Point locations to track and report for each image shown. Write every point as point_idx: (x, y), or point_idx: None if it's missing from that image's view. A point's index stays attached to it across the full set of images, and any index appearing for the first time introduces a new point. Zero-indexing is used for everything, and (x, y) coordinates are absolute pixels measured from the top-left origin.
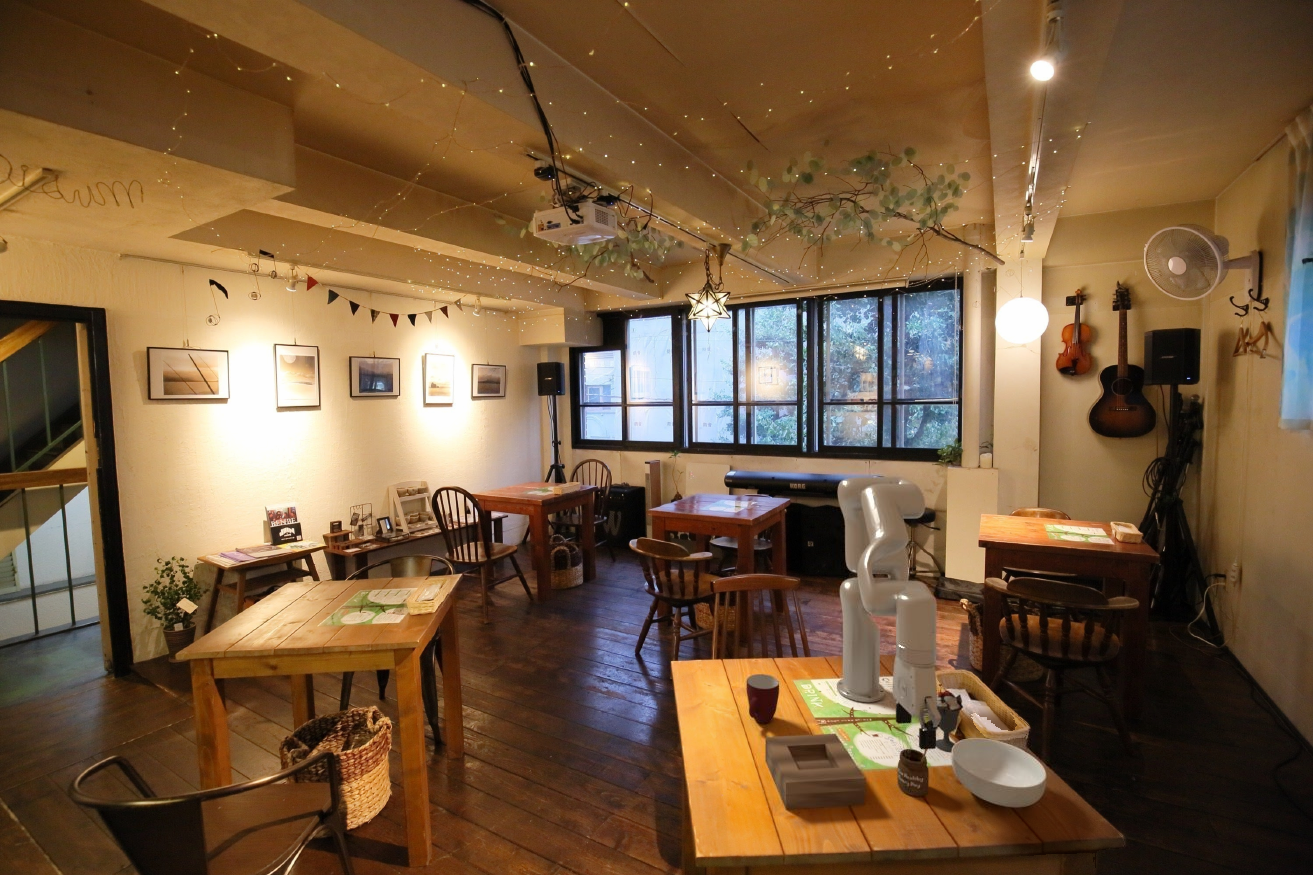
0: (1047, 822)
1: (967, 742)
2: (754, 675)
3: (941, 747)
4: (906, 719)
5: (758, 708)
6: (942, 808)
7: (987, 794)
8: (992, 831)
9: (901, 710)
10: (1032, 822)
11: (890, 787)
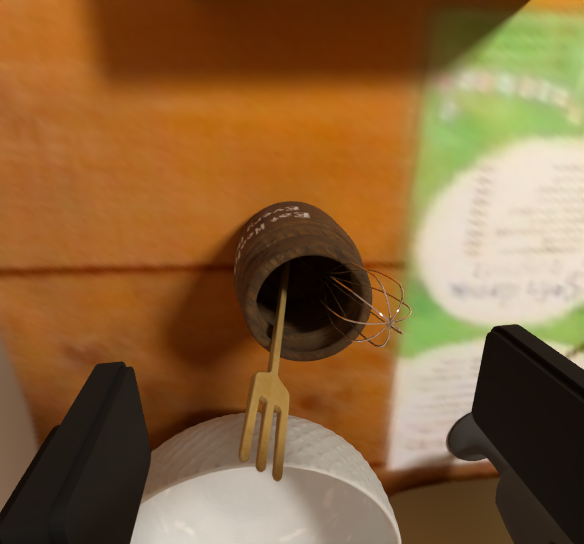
0: None
1: (388, 530)
2: None
3: (472, 420)
4: (493, 406)
5: None
6: (176, 304)
7: None
8: (73, 398)
9: (569, 430)
10: None
11: (298, 168)
